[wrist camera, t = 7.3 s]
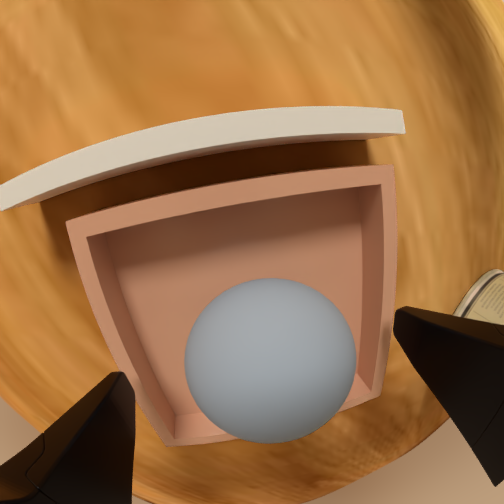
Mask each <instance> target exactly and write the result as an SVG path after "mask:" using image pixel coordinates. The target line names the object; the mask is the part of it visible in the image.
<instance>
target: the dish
mask: <svg viewBox="0 0 504 504" xmlns="http://www.w3.org/2000/svg"><path fill="white" fill-rule="evenodd" d="M66 226H67V231H68V235H69V239H70V242H71V246H72V250H73V253H74V257H75V260H76V264H77V267H78V270H79V273H80V276H81V279H82V282H83V285H84V288H85V291H86V294H87V297H88V299H89V302H90V305H91V307H92V310H93V313H94V315H95V318H96V320H97V322H98V325H99V327H100V330H101V332H102V334H103V337H104V339H105V341H106V343H107V345H108V348H109V350H110V352H111V354H112V356H113V358H114V360H115V362H116V364H117V366H118V368H119V370H120V371H122V372H124V373H125V374H126V376H127V378H128V380H129V382H130V384H131V385H132V387H133V389H134V392H135V399H136V401H137V403H138V404H139V406H140V408H141V409H142V411H143V412H144V414H145V416H146V417H147V419H148V420H149V422H150V424H151V425H152V427H153V428H154V430H155V431H156V433H157V434H158V435H159V437H160V438H161V440H162V441H163V443H164V444H165V445H166V447H172V446H186V445H197V444H206V443H214V442H221V441H228V440H234V439H240V438H237V437H235V436H233V435H231V434H229V433H226V432H225V431H223V430H222V429H220V428H219V427H217V426H216V425H215V424H214V423H212V422H211V421H210V420H209V419H208V418H207V417H206V416H205V415H204V413H203V412H202V411H201V410H200V408H199V407H198V406H197V404H196V402H195V400H194V398H193V397H192V395H191V393H190V390H189V387H188V384H187V380H186V375H185V366H184V358H185V349H186V344H187V340H188V336H189V334H190V331H191V329H192V327H193V325H194V323H195V321H196V319H197V318H198V316H199V315H200V313H201V312H202V311H203V310H204V309H205V307H206V306H207V305H208V304H209V303H210V302H211V301H212V300H214V299H215V298H216V297H217V296H219V295H220V294H221V293H223V292H224V291H226V290H228V289H230V288H231V287H233V286H236V285H238V284H241V283H244V282H247V281H251V280H256V279H262V278H278V279H288V280H292V281H296V282H299V283H302V284H304V285H307V286H309V287H311V288H313V289H315V290H317V291H318V292H320V293H321V294H323V295H324V296H325V297H326V298H328V299H329V300H330V301H331V302H332V303H333V304H334V305H335V306H336V307H337V308H338V310H339V311H340V312H341V313H342V315H343V316H344V318H345V320H346V321H347V323H348V325H349V327H350V330H351V332H352V335H353V339H354V342H355V348H356V371H355V376H354V381H353V384H352V387H351V390H350V392H349V394H348V396H347V398H346V400H345V402H344V403H343V405H342V406H341V408H340V409H339V410H338V412H341V411H343V410H346V409H349V408H351V407H354V406H356V405H359V404H361V403H364V402H366V401H369V400H371V399H373V398H376V397H378V396H380V394H381V390H382V385H383V380H384V375H385V370H386V364H387V359H388V352H389V346H390V339H391V332H392V323H393V314H394V304H395V291H396V274H397V206H396V189H395V176H394V166H393V165H353V166H340V167H329V168H319V169H310V170H301V171H293V172H285V173H277V174H270V175H263V176H256V177H250V178H243V179H237V180H231V181H226V182H220V183H214V184H209V185H204V186H198V187H193V188H188V189H183V190H179V191H174V192H169V193H165V194H160V195H156V196H151V197H147V198H143V199H139V200H135V201H131V202H127V203H123V204H119V205H115V206H111V207H108V208H104V209H100V210H97V211H93V212H90V213H87V214H85V215H82V216H79V217H76V218H74V219H71V220H68V221H66ZM338 412H337V413H338Z"/></svg>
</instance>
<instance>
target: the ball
mask: <svg viewBox="0 0 504 504" xmlns="http://www.w3.org/2000/svg"><path fill="white" fill-rule="evenodd" d="M184 366H185V375H186V380H187V384H188V387H189V390H190V393H191V395H192V397H193V398H194V400H195V402H196V404H197V406H198V407H199V408H200V410H201V411H202V412H203V413H204V415H205V416H206V417H207V418H208V419H209V420H210V421H211V422H212V423H214V424H215V425H216V426H217V427H219V428H220V429H222V430H223V431H225V432H226V433H229V434H231V435H233V436H235V437H237V438H240V439H243V440H246V441H251V442H256V443H282V442H288V441H292V440H296V439H299V438H301V437H304V436H306V435H308V434H310V433H312V432H314V431H316V430H317V429H319V428H320V427H321V426H323V425H324V424H325V423H327V422H328V421H329V420H330V419H331V418H332V417H333V416H334V415H335V414H336V413H337V412H338V410H339V409H340V408H341V406H342V405H343V403H344V402H345V400H346V398H347V396H348V394H349V392H350V390H351V387H352V384H353V381H354V376H355V371H356V348H355V342H354V339H353V335H352V332H351V330H350V327H349V325H348V323H347V321H346V320H345V318H344V316H343V315H342V313H341V312H340V311H339V310H338V308H337V307H336V306H335V305H334V304H333V303H332V302H331V301H330V300H329V299H328V298H326V297H325V296H324V295H323V294H321V293H320V292H318V291H317V290H315V289H313V288H311V287H309V286H307V285H304V284H302V283H299V282H296V281H292V280H288V279H278V278H262V279H256V280H251V281H247V282H244V283H241V284H238V285H236V286H233V287H231V288H230V289H228V290H226V291H224V292H223V293H221V294H220V295H219V296H217V297H216V298H215V299H214V300H212V301H211V302H210V303H209V304H208V305H207V306H206V307H205V309H204V310H203V311H202V312H201V313H200V315H199V316H198V318H197V319H196V321H195V323H194V325H193V327H192V329H191V331H190V334H189V336H188V340H187V344H186V349H185V358H184Z"/></svg>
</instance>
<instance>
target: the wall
mask: <svg viewBox="0 0 504 504" xmlns="http://www.w3.org/2000/svg"><path fill="white" fill-rule="evenodd" d="M401 134H406V132H405V125H404V120H403V114H402V110H396V109H385V108H371V107H350V106H306V107H284V108H270V109H259V110H249V111H240V112H232V113H225V114H218V115H212V116H206V117H200V118H194V119H189V120H184V121H179V122H174V123H169V124H165V125H161V126H156V127H152V128H148V129H144V130H140V131H137V132H133V133H129V134H126V135H122V136H119V137H116V138H113V139H109V140H106V141H103V142H100V143H97V144H94V145H91V146H88V147H85V148H83V149H80V150H77V151H75V152H72V153H69V154H67V155H64V156H62V157H59V158H57V159H54V160H52V161H50V162H47V163H45V164H43V165H40V166H38V167H36V168H34V169H32V170H30V171H27V172H25V173H23V174H21V175H19V176H17V177H15V178H13V179H11V180H9V181H8V182H6V183H4V184H2V185H0V210H1V211H4V210H8V209H12V208H16V207H20V206H24V205H28V204H33V203H37V202H40V201H43V200H46V199H48V198H51V197H54V196H56V195H59V194H62V193H65V192H68V191H70V190H73V189H76V188H79V187H82V186H85V185H89V184H92V183H95V182H98V181H101V180H105V179H108V178H112V177H115V176H119V175H122V174H126V173H130V172H133V171H137V170H141V169H145V168H149V167H154V166H158V165H162V164H166V163H171V162H176V161H180V160H185V159H190V158H195V157H201V156H206V155H212V154H217V153H223V152H230V151H236V150H243V149H250V148H258V147H266V146H275V145H284V144H295V143H307V142H321V141H340V140H367V139H373V138H380V137H386V136H393V135H401Z"/></svg>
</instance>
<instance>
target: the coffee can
mask: <svg viewBox="0 0 504 504" xmlns="http://www.w3.org/2000/svg"><path fill="white" fill-rule="evenodd" d="M453 316H459V317H464V318H469V319H474V320H479V321H485V322H490V323H496V324H501V325H504V272H503V271H502V270H499V269H494V270H491V271H489V272H487V273H485V274H484V275H483V276H481V278H480V279H479V280H478V281H477V282H476V283H475V284H474V285H473V286H472V287H471V288H470V290H469V291H468V292H467V294H466V295H465V297H464V298H463V300H462V301H461V303H460V304H459V306H458V307H457V309H456V311H455V312H454V314H453Z"/></svg>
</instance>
